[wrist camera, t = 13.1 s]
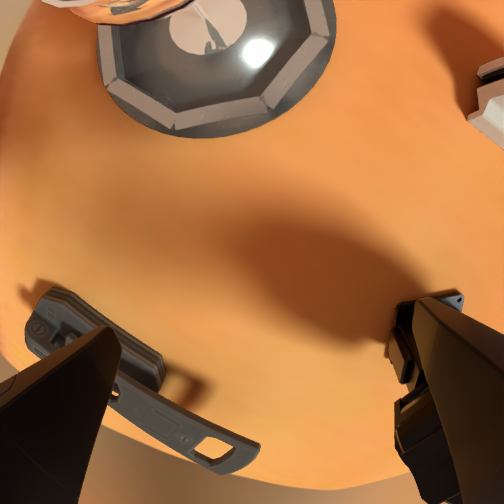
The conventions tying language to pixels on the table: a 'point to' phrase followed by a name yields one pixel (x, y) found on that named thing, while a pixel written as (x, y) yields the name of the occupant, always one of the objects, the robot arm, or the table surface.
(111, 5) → the wineglass
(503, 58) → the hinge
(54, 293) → the zipper pull
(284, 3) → the rosette plate
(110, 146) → the table surface
